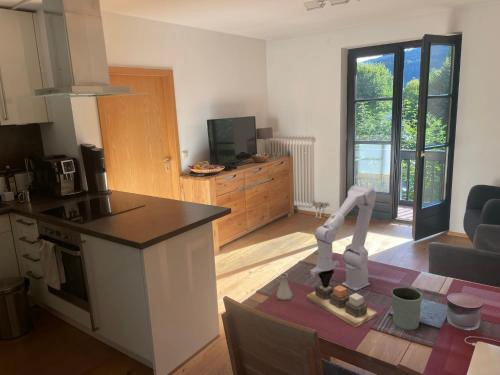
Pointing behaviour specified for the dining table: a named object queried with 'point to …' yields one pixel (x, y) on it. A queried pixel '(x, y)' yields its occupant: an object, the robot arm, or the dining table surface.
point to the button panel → (341, 306)
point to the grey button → (356, 300)
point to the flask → (284, 289)
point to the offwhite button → (325, 288)
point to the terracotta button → (340, 291)
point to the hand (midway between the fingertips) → (325, 286)
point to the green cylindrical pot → (406, 307)
